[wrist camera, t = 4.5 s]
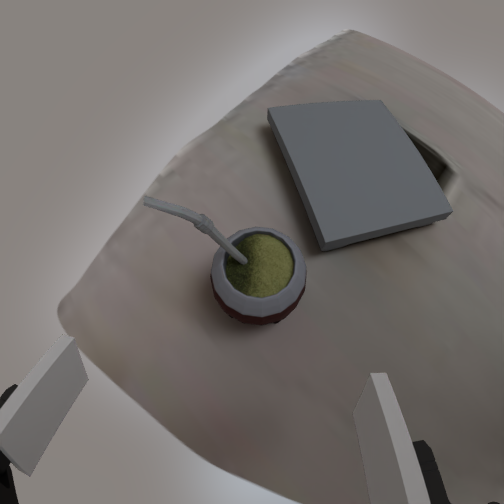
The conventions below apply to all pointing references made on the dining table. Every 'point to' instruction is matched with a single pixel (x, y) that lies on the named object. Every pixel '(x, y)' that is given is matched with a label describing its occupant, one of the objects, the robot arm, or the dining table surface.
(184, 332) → the dining table surface
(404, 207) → the riser
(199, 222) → the mate gourd
